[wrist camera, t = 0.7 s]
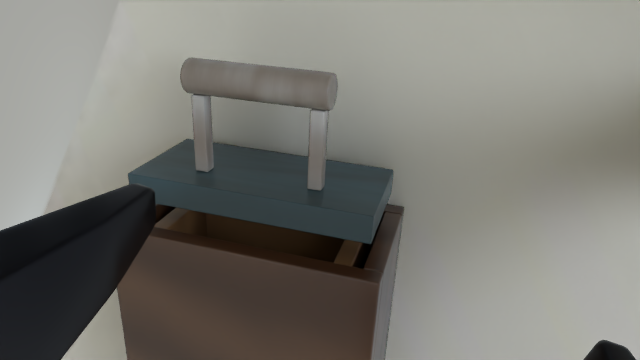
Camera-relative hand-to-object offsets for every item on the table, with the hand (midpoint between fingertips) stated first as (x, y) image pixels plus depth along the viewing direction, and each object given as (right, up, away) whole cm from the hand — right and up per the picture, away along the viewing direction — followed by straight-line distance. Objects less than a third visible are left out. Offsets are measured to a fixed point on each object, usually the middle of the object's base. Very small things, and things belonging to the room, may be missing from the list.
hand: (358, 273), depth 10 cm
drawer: (-3, 0, +16) cm, 16 cm away
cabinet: (-3, -5, +18) cm, 19 cm away
